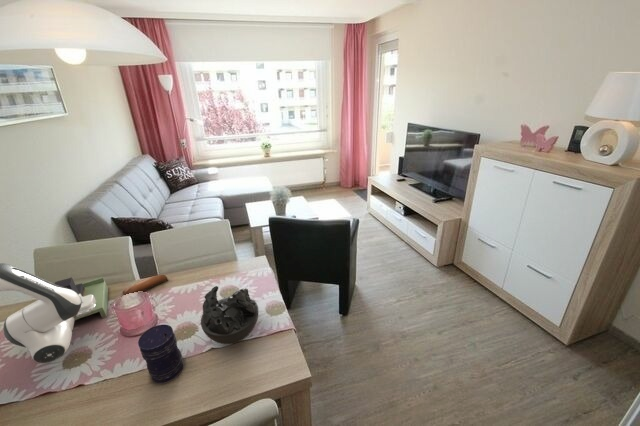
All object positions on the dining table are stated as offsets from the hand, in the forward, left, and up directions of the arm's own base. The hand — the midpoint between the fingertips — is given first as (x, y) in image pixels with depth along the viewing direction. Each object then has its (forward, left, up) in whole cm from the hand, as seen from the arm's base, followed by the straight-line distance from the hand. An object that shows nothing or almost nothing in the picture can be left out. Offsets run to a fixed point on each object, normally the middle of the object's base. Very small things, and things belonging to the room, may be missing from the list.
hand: (63, 300), depth 111 cm
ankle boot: (0, +11, -8) cm, 13 cm away
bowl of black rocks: (+51, -41, -13) cm, 67 cm away
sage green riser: (0, +10, -13) cm, 17 cm away
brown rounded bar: (+25, +12, -13) cm, 31 cm away
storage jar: (+28, -43, -13) cm, 53 cm away
